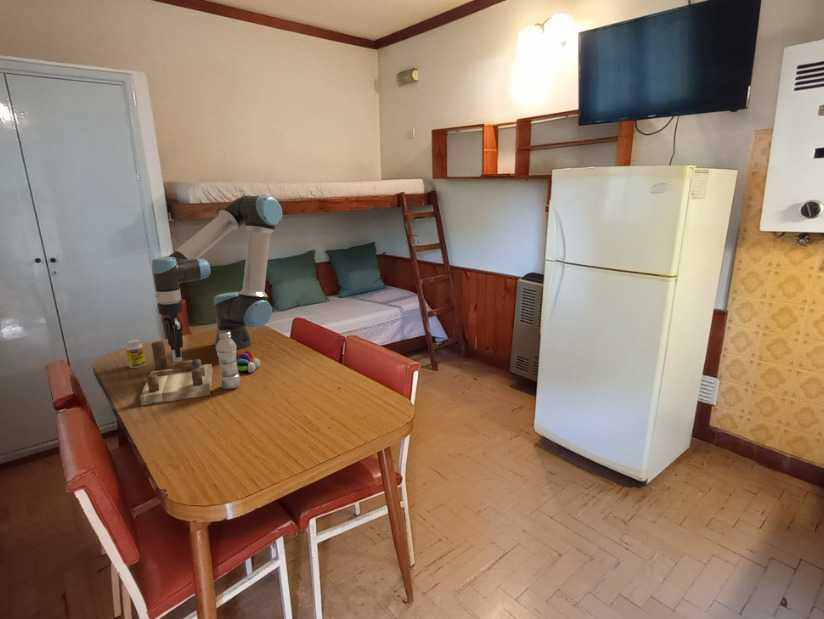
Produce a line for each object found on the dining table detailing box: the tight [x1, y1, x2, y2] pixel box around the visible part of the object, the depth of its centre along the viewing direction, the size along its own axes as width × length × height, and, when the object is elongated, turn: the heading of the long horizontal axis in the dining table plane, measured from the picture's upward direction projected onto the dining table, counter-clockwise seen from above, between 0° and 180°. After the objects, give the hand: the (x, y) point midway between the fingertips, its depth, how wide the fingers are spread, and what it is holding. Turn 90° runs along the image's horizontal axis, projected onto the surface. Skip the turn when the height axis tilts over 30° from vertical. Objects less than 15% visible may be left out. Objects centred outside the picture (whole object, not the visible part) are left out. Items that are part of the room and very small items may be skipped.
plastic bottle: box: [215, 330, 241, 390], centre depth 155 cm, size 6×7×20 cm
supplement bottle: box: [125, 339, 146, 369], centre depth 177 cm, size 6×6×10 cm
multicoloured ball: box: [236, 350, 261, 374], centre depth 172 cm, size 8×10×7 cm
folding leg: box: [171, 358, 202, 372], centre depth 165 cm, size 9×3×3 cm, turn 111°
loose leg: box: [151, 340, 169, 371], centre depth 172 cm, size 4×4×11 cm
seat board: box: [139, 363, 213, 406], centre depth 158 cm, size 20×22×8 cm
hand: (178, 365), depth 166 cm, fingers closed
